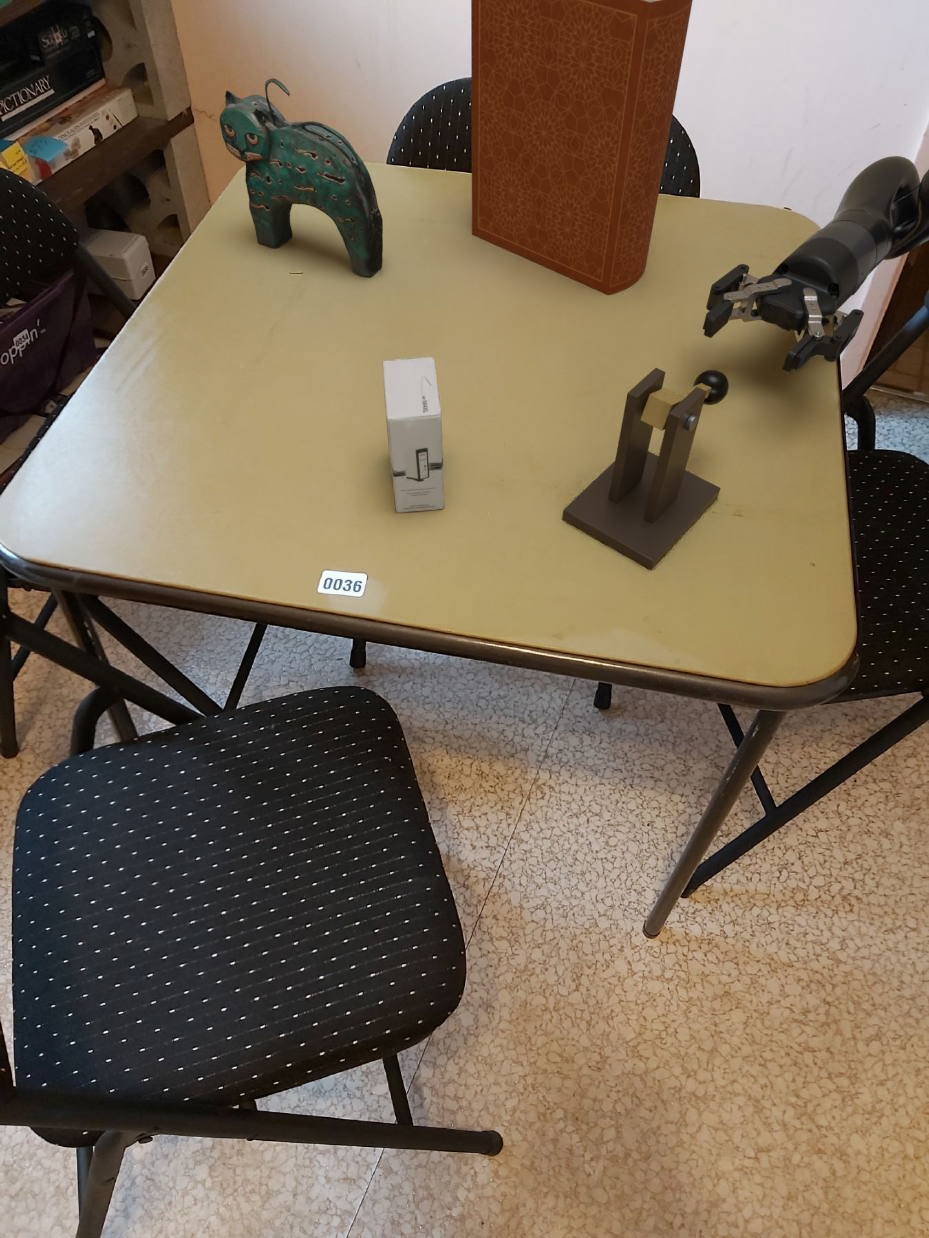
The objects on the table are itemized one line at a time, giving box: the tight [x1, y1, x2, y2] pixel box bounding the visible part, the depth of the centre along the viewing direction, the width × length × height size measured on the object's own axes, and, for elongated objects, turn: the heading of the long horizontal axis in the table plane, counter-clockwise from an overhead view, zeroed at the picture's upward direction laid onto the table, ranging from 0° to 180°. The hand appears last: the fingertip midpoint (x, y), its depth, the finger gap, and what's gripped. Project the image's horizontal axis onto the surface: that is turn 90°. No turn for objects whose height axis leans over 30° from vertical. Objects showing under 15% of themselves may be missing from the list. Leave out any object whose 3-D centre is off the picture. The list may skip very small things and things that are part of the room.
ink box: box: [382, 355, 445, 513], centre depth 78 cm, size 9×5×12 cm, turn 6°
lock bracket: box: [561, 367, 721, 571], centre depth 75 cm, size 12×10×14 cm
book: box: [470, 0, 694, 296], centre depth 96 cm, size 23×8×30 cm, turn 49°
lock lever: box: [640, 368, 730, 432], centre depth 75 cm, size 13×3×3 cm, turn 140°
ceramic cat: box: [219, 78, 384, 278], centre depth 100 cm, size 20×6×20 cm, turn 60°
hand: (747, 346), depth 80 cm, fingers open, 8 cm apart
